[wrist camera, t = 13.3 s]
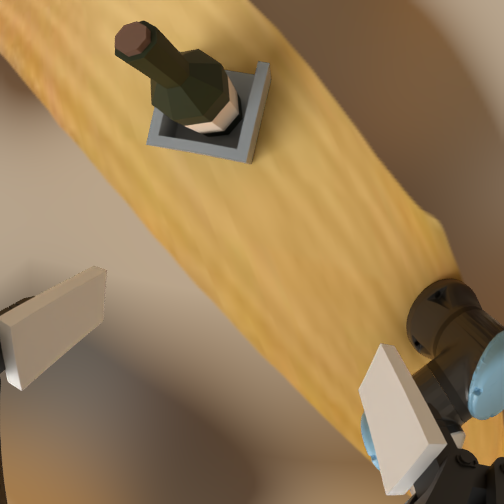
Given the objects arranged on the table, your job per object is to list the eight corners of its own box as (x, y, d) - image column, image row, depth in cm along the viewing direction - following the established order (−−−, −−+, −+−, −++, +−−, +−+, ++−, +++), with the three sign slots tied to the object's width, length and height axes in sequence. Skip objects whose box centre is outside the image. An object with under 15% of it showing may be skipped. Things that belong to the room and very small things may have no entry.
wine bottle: (199, 81, 44) (105, -11, 15) (250, 93, 44) (209, -9, 15) (183, 130, 46) (64, 88, 17) (234, 144, 46) (164, 103, 17)
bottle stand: (251, 164, 48) (245, 162, 40) (165, 148, 48) (146, 144, 40) (271, 79, 44) (269, 63, 36) (185, 67, 45) (170, 51, 37)
